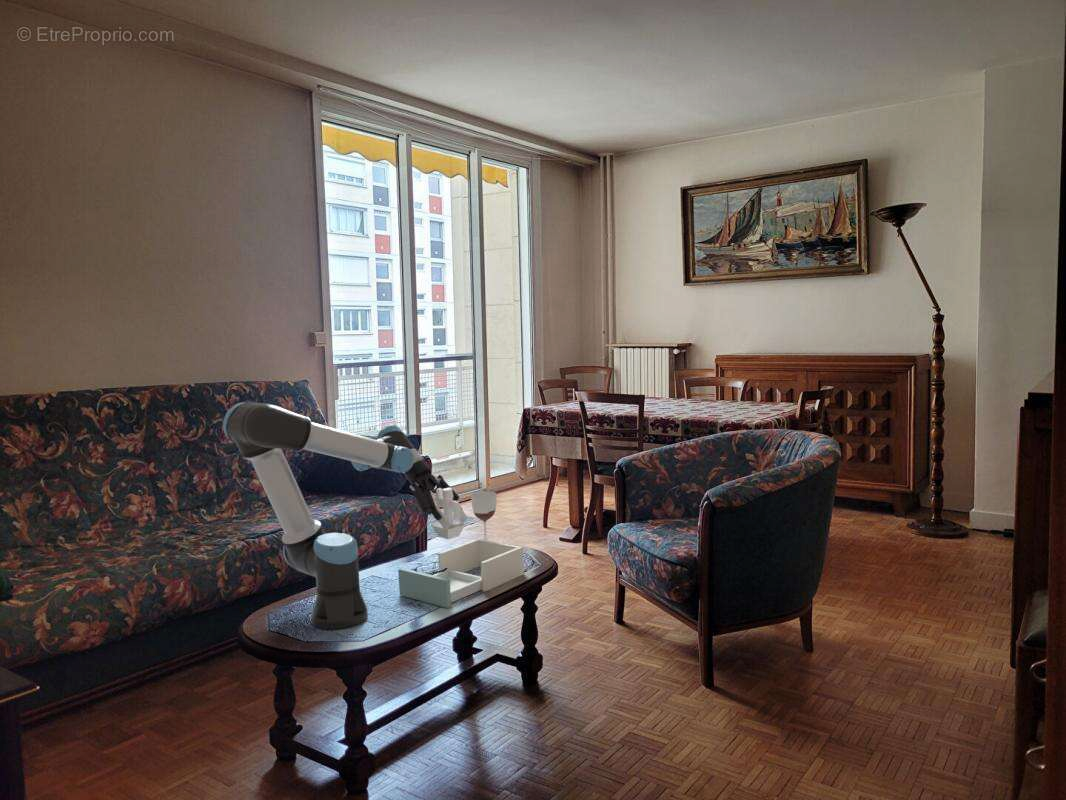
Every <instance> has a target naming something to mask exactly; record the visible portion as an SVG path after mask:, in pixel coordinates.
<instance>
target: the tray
mask: <svg viewBox="0 0 1066 800" xmlns="http://www.w3.org/2000/svg"><path fill="white" fill-rule="evenodd" d="M397 573H398V588H399V589H398V591H399V592H398V593H399V596H402V597H406V598H409V599H413V600H417V601H420V602H425V603H428V604H432V605H435V606H439V607H443V608H446V609H448V608H450V607H452V603H453V602H457V601H458V600H461V599H463V598H465V597H467V596H469V595H472V594H475V593H477V592H480V591H482V581H481V576H479V575H475V574H474V575H473V574H470V573H467V572H464V573H462V572H458V571H453V570H449V569H447V570H445V571H444V572H440V573H439V572H437V573H434V574H429V573H425V572H419V571H416V570H413V569H412V570H411V569H407V568H403V567H401V568H398V572H397Z"/></svg>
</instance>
